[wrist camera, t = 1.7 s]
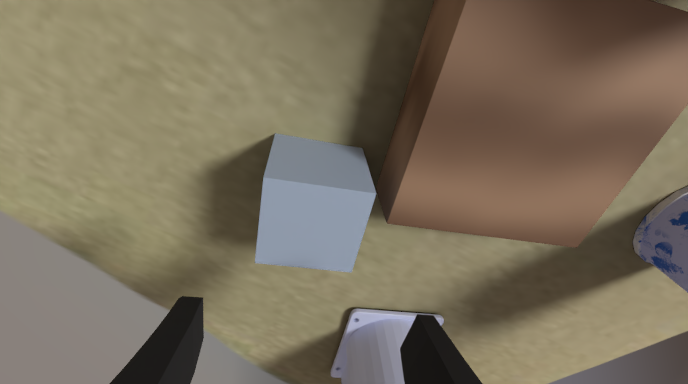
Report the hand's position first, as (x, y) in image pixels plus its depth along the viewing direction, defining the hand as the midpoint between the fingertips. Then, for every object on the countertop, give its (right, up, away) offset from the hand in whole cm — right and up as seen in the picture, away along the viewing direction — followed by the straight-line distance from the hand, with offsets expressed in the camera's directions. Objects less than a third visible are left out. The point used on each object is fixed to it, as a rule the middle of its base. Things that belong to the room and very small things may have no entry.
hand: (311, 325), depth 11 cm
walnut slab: (+10, +9, +8) cm, 16 cm away
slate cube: (-1, +5, +9) cm, 10 cm away
